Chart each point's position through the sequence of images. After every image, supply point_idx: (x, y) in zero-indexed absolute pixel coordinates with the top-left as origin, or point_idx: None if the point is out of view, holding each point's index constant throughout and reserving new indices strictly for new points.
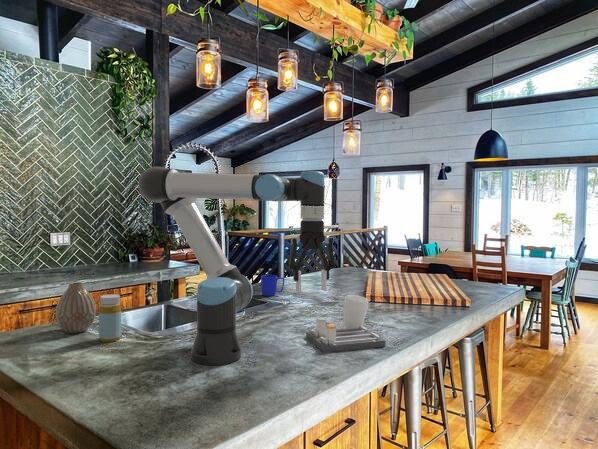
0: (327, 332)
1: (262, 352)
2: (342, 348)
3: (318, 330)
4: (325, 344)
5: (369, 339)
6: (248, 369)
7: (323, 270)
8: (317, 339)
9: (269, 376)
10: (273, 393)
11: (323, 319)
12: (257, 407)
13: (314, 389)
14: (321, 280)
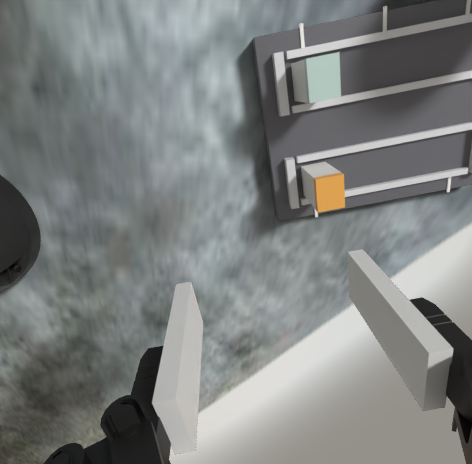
0: (309, 189)
1: (97, 199)
2: None
3: (296, 91)
4: (288, 205)
5: (440, 177)
6: (79, 307)
7: (423, 392)
8: (275, 153)
9: (131, 341)
10: None
11: (330, 95)
12: None
13: (215, 388)
14: (374, 287)
